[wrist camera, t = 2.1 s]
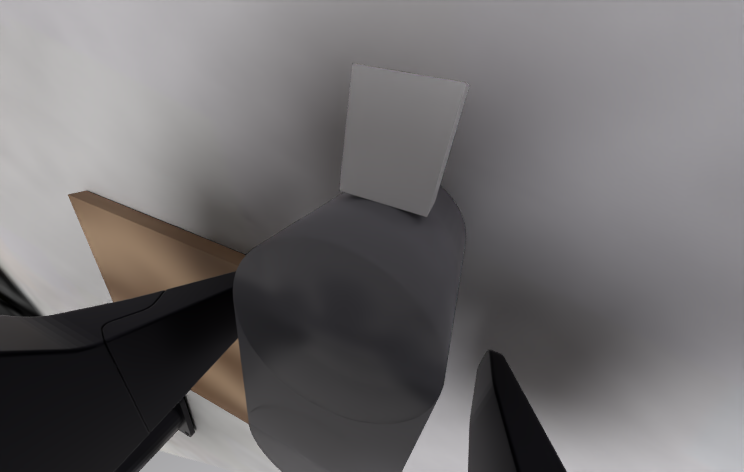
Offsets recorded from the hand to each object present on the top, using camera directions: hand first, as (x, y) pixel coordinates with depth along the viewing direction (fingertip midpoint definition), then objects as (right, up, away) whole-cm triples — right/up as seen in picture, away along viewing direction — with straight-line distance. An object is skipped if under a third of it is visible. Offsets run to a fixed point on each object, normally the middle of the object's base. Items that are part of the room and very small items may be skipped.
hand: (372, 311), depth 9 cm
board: (-11, -3, +8) cm, 14 cm away
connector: (+1, +2, +1) cm, 2 cm away
